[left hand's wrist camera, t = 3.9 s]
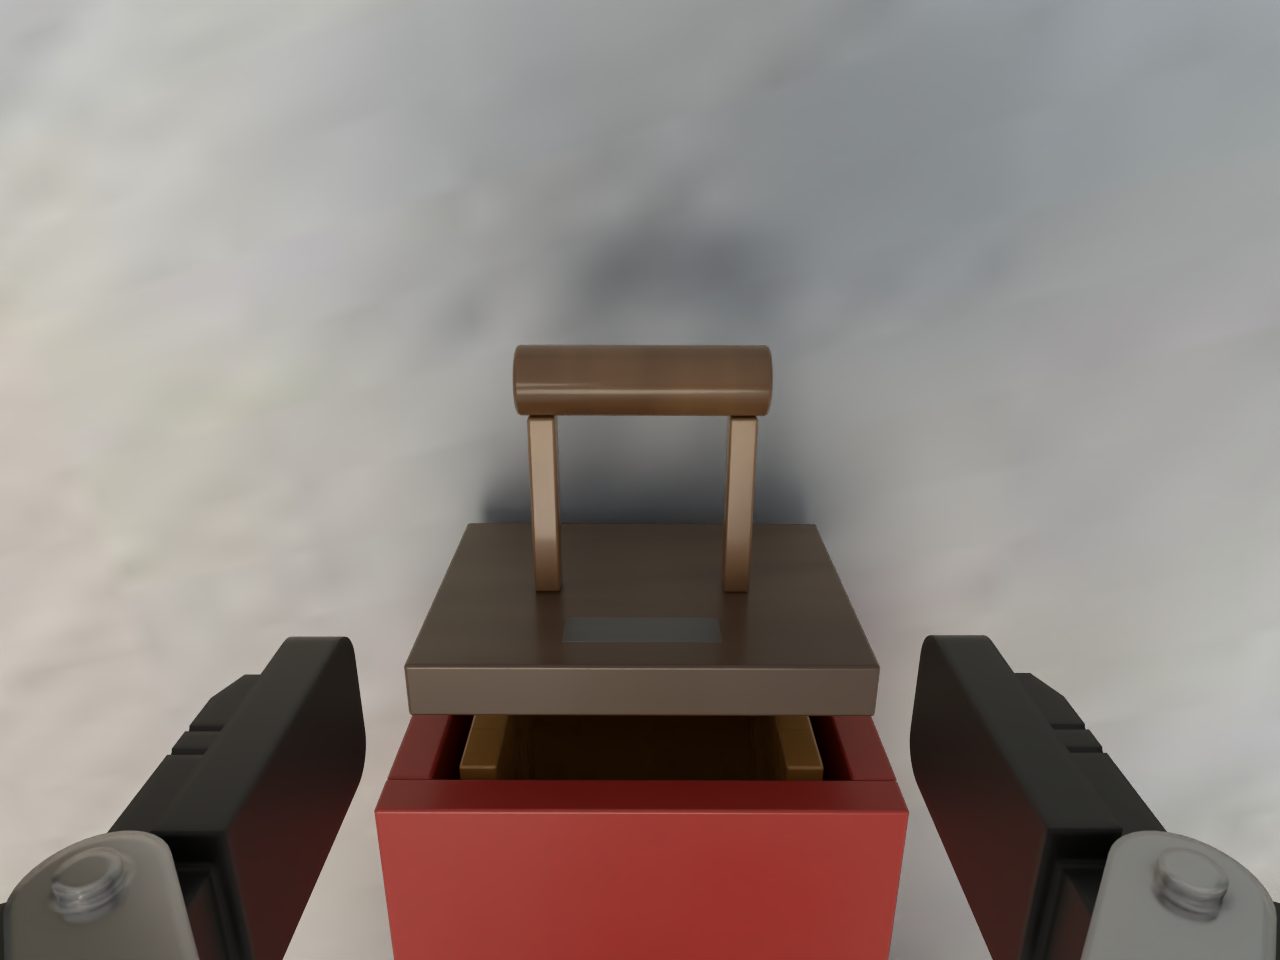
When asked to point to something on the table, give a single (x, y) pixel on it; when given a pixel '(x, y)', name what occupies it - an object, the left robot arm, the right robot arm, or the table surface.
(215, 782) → the left robot arm
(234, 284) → the table surface
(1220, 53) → the table surface
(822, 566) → the drawer
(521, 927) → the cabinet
